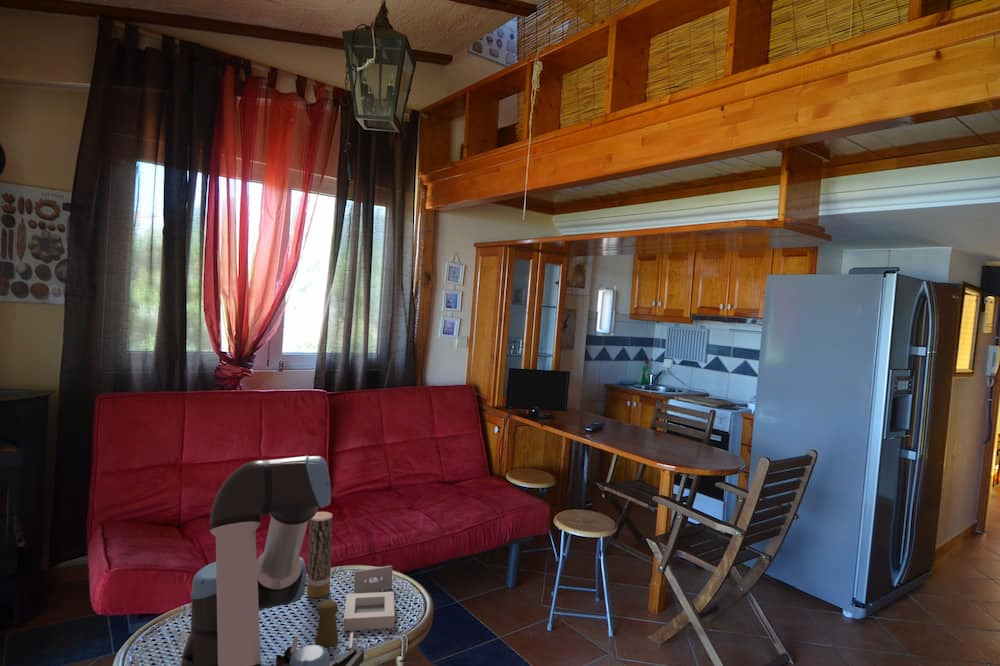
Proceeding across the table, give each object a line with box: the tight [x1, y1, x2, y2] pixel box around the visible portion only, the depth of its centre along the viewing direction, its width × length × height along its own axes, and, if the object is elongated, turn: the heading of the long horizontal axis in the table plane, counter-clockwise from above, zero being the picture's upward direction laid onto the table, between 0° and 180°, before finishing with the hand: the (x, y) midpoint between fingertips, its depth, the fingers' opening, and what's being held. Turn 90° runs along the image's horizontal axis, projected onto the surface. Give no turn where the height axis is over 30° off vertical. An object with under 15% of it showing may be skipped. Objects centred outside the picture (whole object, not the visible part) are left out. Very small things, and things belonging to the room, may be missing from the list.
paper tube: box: [306, 511, 333, 599], centre depth 181 cm, size 7×7×25 cm
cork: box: [314, 599, 339, 649], centre depth 155 cm, size 6×6×11 cm
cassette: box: [353, 565, 393, 594], centre depth 184 cm, size 12×2×8 cm, turn 115°
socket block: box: [342, 591, 396, 632], centre depth 170 cm, size 14×14×4 cm
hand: (324, 639), depth 146 cm, fingers open, 13 cm apart
